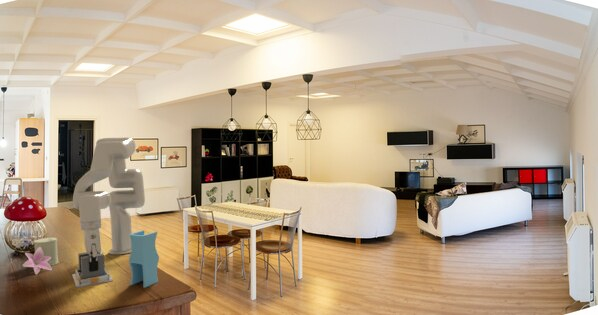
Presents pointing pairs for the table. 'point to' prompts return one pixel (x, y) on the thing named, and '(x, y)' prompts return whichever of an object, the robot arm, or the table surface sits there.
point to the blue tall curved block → (143, 258)
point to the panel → (85, 267)
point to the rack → (89, 281)
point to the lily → (37, 261)
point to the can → (48, 249)
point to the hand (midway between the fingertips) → (93, 269)
